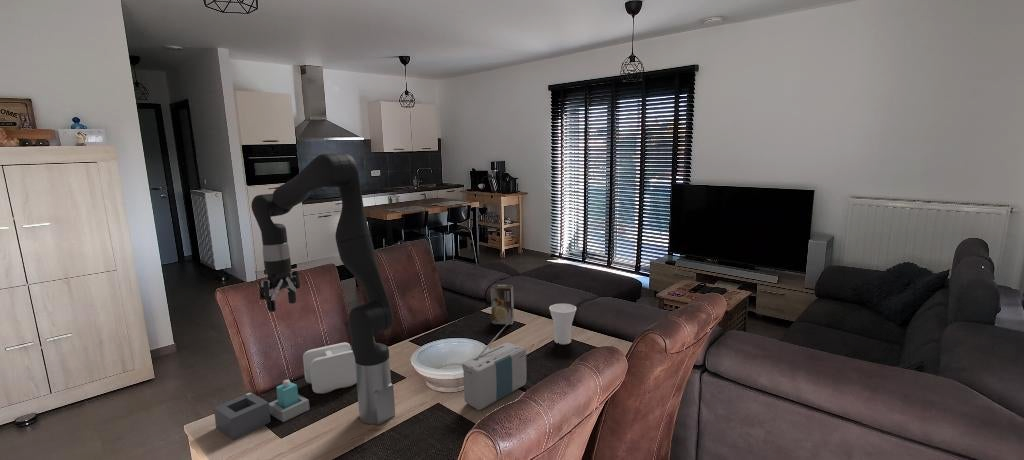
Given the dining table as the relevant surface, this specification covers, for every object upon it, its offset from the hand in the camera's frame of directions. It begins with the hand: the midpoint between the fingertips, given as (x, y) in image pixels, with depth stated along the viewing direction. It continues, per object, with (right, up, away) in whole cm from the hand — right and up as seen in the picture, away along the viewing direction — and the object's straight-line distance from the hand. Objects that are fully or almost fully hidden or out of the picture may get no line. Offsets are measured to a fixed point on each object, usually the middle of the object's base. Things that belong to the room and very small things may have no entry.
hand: (282, 307), depth 153 cm
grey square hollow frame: (+8, -28, -13) cm, 32 cm away
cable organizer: (+15, -26, +3) cm, 30 cm away
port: (-2, -30, -19) cm, 35 cm away
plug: (+8, -28, -13) cm, 32 cm away
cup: (+93, -19, +34) cm, 100 cm away
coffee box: (+69, -15, +55) cm, 90 cm away
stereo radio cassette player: (+68, -26, -6) cm, 73 cm away
